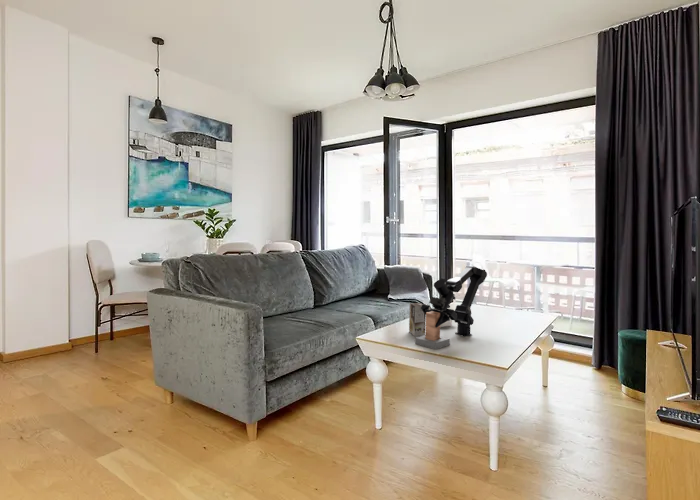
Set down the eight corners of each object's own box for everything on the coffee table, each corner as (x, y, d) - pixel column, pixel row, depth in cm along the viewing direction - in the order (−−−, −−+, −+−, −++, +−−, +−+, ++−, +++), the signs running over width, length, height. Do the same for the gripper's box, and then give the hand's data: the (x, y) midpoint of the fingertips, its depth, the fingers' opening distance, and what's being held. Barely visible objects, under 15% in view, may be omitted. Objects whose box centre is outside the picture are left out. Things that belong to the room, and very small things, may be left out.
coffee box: (425, 335, 211) (426, 305, 211) (414, 336, 210) (414, 306, 210) (419, 331, 220) (420, 302, 220) (408, 331, 219) (409, 302, 218)
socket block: (429, 339, 205) (429, 333, 205) (449, 344, 196) (449, 338, 196) (415, 343, 197) (415, 337, 197) (435, 349, 188) (435, 343, 188)
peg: (431, 336, 200) (432, 311, 199) (439, 338, 196) (440, 312, 195) (425, 338, 196) (426, 312, 196) (433, 340, 193) (434, 314, 192)
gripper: (423, 288, 204) (409, 312, 198) (454, 293, 191) (440, 319, 184) (432, 301, 210) (418, 325, 203) (463, 307, 196) (450, 333, 190)
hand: (431, 325), depth 195 cm, fingers closed on peg, 5 cm apart
